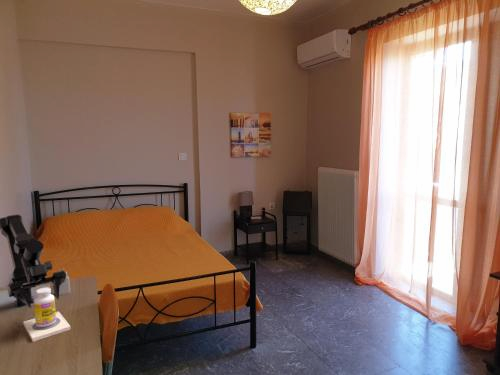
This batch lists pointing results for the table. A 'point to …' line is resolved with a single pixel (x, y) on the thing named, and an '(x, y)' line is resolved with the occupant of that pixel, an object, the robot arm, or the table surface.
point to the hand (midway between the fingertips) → (44, 303)
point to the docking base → (46, 328)
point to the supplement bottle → (44, 308)
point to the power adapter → (64, 286)
